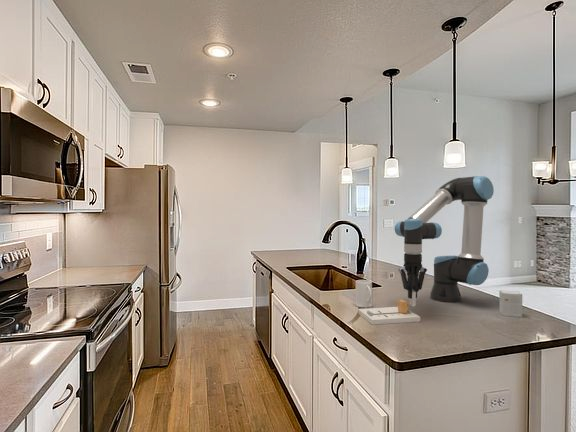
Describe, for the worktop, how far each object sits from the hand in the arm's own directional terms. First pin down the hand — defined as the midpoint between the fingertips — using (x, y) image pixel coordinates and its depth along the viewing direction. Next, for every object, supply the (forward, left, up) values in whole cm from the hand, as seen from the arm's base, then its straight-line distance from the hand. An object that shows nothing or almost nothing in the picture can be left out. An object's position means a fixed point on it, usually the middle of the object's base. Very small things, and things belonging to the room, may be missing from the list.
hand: (412, 305), depth 158 cm
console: (+11, -1, -5) cm, 12 cm away
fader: (+5, 0, -3) cm, 6 cm away
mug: (+14, -20, -5) cm, 25 cm away
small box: (-45, +6, -5) cm, 46 cm away
